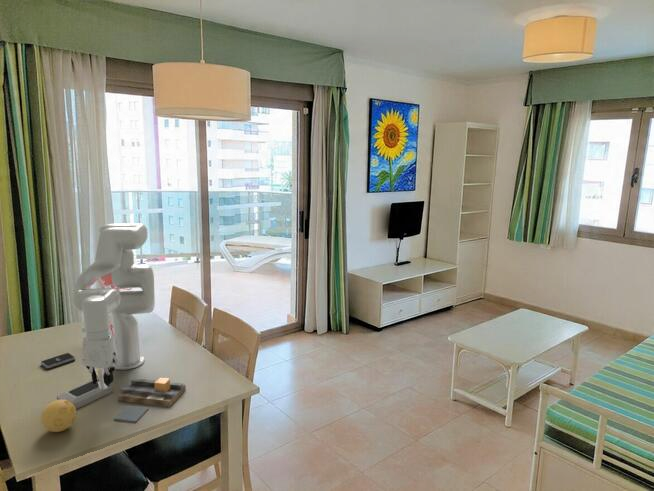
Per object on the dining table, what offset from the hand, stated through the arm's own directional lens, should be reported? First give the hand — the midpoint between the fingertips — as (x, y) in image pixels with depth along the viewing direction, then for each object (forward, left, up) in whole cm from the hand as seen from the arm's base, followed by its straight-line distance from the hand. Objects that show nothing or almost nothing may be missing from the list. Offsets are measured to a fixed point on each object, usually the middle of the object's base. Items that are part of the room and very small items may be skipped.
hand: (103, 382), depth 152 cm
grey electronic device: (-14, +8, -13) cm, 21 cm away
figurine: (-38, +65, -12) cm, 76 cm away
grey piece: (+9, +14, -12) cm, 21 cm away
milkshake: (0, 0, -2) cm, 2 cm away
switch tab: (+13, +14, -10) cm, 22 cm away
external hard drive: (-42, +30, -13) cm, 53 cm away
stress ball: (-9, -11, -12) cm, 18 cm away
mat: (+9, +1, -12) cm, 15 cm away
